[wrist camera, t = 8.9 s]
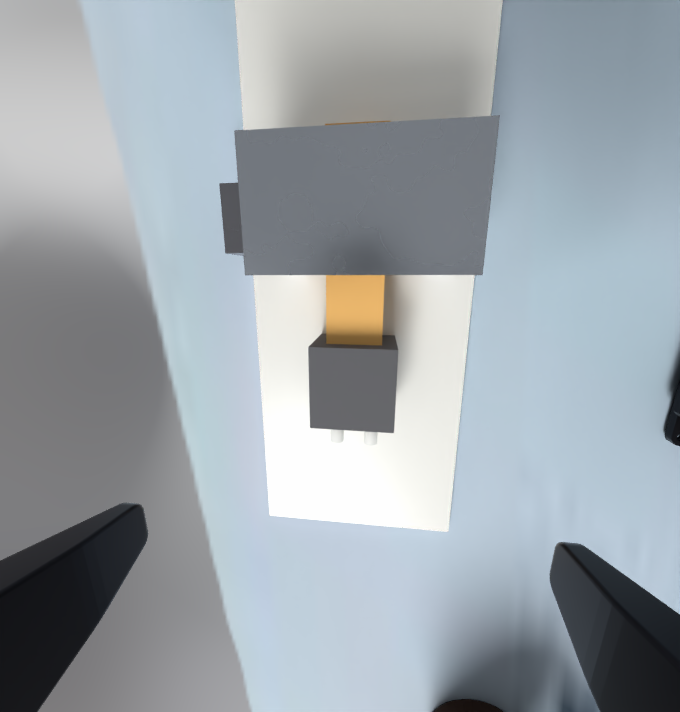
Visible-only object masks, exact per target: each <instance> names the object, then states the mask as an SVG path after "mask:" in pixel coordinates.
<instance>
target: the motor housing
mask: <svg viewBox="0 0 680 712" xmlns="http://www.w3.org/2000/svg"><path fill="white" fill-rule="evenodd" d="M499 118H500V115H498V116H480V117H463V118H445V119H428V120H410V121H393V122H375V123H358V124H340V125H323V126H305V127H288V128H270V129H253V130H235V131H234V132H235V145H236V159H237V172H238V183H221V184H220V195H221V206H222V218H223V229H224V241H225V252H226V253H227V254H234V255H242V256H244V267H245V275H482V274H483V265H484V256H485V247H486V238H487V228H488V219H489V210H490V201H491V191H492V182H493V173H494V164H495V155H496V145H497V136H498V127H499Z"/></svg>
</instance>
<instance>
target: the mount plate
mask: <svg viewBox="0 0 680 712" xmlns="http://www.w3.org/2000/svg"><path fill="white" fill-rule="evenodd" d="M502 2H503V0H235V11H236V26H237V41H238V55H239V70H240V85H241V100H242V114H243V129H244V130H253V129H270V128H288V127H305V126H323V125H325V124H331V123H351V122H370V121H390V120H391V122H393V121H410V120H428V119H445V118H463V117H480V116H491V110H492V100H493V90H494V81H495V71H496V61H497V51H498V41H499V32H500V22H501V12H502ZM474 276H475V275H385V282H384V308H383V334H382V335H395V338H396V342H397V346H398V367H397V386H396V405H395V424H394V433H381V432H377V444H376V445H366V444H365V443H364V431H349V430H344V440H343V442H341V443H333V442H331V429H317V428H310V407H309V361H308V347H309V346H310V345H311V344H312V343H313V342H314V341H315V340H316V339H317V338H318V337H319V336H320V335H321V334H322V333H323V334H326V275H253V277H254V291H255V306H256V321H257V336H258V350H259V365H260V380H261V395H262V409H263V424H264V439H265V454H266V468H267V483H268V498H269V513H270V516H280V517H291V518H302V519H313V520H324V521H335V522H346V523H357V524H368V525H379V526H390V527H401V528H412V529H422V530H433V531H444V532H448V530H449V520H450V510H451V500H452V491H453V481H454V471H455V461H456V452H457V442H458V432H459V422H460V412H461V403H462V393H463V383H464V373H465V364H466V354H467V344H468V334H469V325H470V315H471V305H472V295H473V286H474Z"/></svg>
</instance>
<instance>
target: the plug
mask: <svg viewBox="0 0 680 712" xmlns="http://www.w3.org/2000/svg"><path fill="white" fill-rule="evenodd" d="M375 122H391V120H390V121H370V122H351V123H331V124H325V125H340V124H358V123H375ZM384 282H385V275H326V334H323V333H322V334H321V335H320V336H319V337H318V338H317V339H316V340H315V341H314V342H313V343H312V344H311V345H310V346H309V347H308V361H309V407H310V428H317V429H331V442H333V443H341V442H343V440H344V430H349V431H364V443H365V444H366V445H376V444H377V432H381V433H394V424H395V405H396V386H397V367H398V346H397V342H396V338H395V335H382V334H383V308H384Z"/></svg>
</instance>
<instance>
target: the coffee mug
mask: <svg viewBox="0 0 680 712" xmlns="http://www.w3.org/2000/svg"><path fill="white" fill-rule="evenodd" d="M433 712H503V711H502V710H500V709H499V708H497V707H496V706H493V705H491V704H489V703H486V702H482V701H478V700H471V699H461V700H453V701H450V702H447V703H444V704H442V705H440V706H439V707H438V708H436V709H435V710H434V711H433Z"/></svg>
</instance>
